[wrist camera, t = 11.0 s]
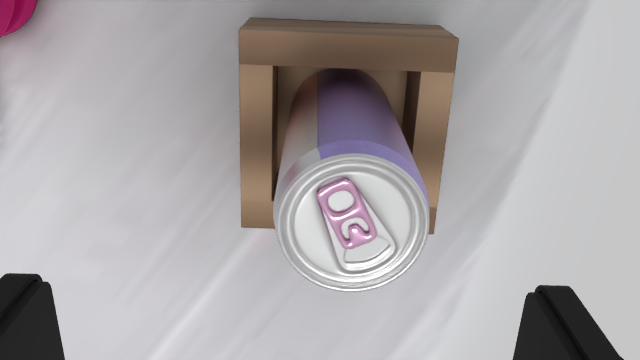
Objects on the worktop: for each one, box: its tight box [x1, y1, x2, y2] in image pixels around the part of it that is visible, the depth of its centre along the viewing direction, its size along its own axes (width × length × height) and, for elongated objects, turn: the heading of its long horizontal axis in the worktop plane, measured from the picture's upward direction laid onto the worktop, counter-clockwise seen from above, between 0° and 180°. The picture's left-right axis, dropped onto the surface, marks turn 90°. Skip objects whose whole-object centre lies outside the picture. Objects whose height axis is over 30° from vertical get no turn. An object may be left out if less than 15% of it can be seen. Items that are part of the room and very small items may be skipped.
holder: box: [239, 18, 459, 234], centre depth 33 cm, size 11×11×5 cm
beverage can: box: [273, 68, 430, 292], centre depth 28 cm, size 6×6×15 cm
